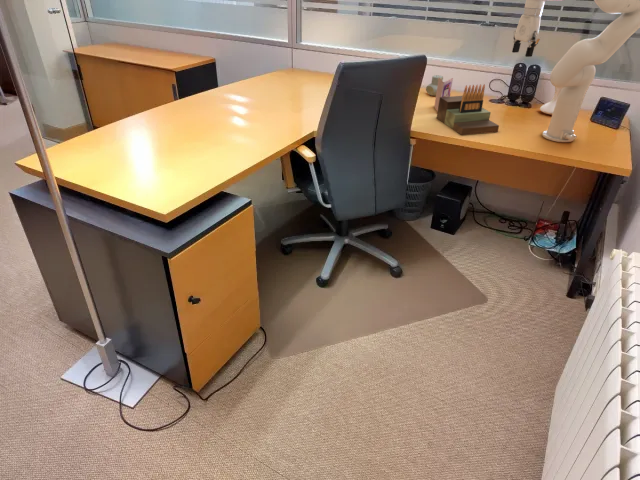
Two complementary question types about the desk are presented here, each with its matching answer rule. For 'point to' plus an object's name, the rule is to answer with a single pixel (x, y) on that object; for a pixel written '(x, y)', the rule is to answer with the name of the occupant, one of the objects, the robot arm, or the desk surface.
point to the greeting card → (442, 91)
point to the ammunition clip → (472, 99)
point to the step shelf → (464, 117)
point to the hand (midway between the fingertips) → (521, 54)
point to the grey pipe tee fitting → (433, 85)
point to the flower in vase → (551, 103)
